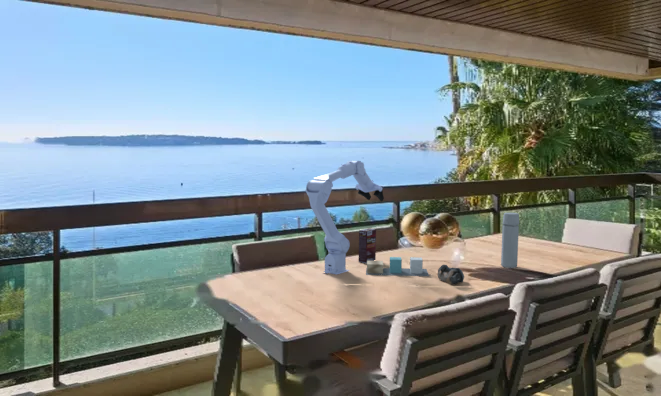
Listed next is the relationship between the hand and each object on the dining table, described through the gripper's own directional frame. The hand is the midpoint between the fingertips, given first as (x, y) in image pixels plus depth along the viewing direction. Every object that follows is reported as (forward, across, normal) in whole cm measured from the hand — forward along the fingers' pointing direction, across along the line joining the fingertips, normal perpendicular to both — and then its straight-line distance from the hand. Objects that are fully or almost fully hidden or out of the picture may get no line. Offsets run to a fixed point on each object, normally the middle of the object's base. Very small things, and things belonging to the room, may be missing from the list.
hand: (376, 199), depth 243 cm
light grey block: (+16, -28, +26) cm, 41 cm away
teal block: (+12, -20, +30) cm, 38 cm away
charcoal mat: (+13, -21, +30) cm, 39 cm away
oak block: (+8, -13, +34) cm, 37 cm away
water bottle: (+45, -53, -1) cm, 69 cm away
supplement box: (+18, +2, +25) cm, 31 cm away
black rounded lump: (+13, -46, +30) cm, 56 cm away
